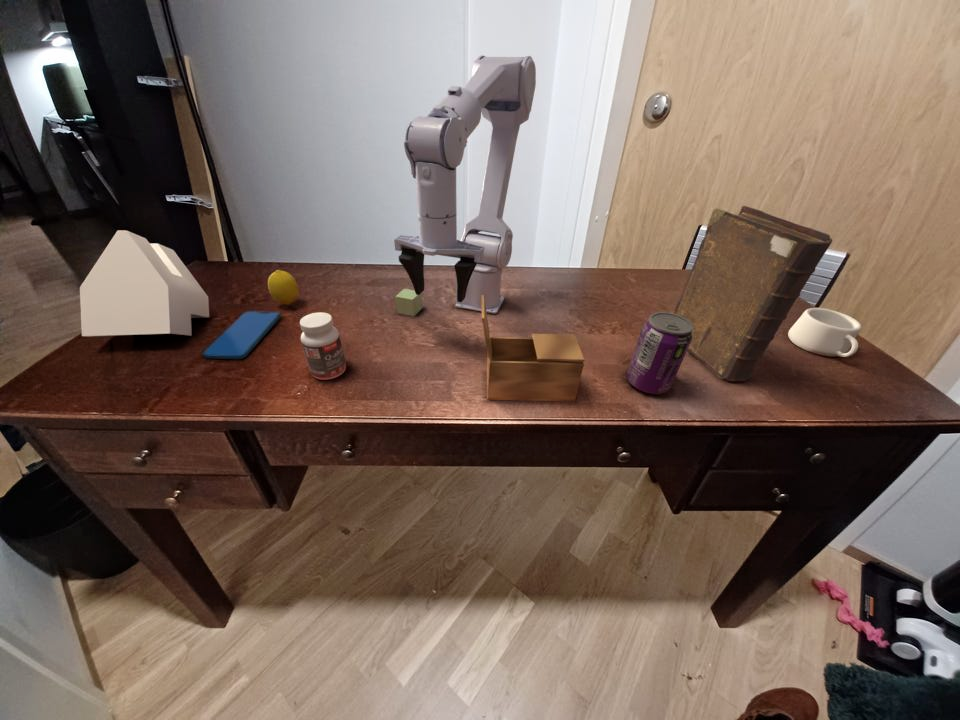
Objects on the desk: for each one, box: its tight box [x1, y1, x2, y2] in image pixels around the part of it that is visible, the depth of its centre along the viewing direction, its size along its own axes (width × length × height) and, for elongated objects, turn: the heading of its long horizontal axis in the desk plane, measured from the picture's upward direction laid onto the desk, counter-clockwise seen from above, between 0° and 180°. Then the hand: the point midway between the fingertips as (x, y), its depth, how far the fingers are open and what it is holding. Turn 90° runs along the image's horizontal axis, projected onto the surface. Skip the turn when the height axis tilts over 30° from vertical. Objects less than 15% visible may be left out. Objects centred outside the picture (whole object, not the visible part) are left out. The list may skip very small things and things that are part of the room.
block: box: [394, 288, 423, 317], centre depth 78 cm, size 4×4×4 cm
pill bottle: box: [299, 311, 347, 381], centre depth 59 cm, size 6×6×10 cm
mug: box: [787, 307, 862, 358], centre depth 71 cm, size 12×10×6 cm
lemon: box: [267, 269, 299, 306], centre depth 77 cm, size 6×6×8 cm
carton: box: [486, 333, 585, 402], centre depth 58 cm, size 14×7×8 cm, turn 90°
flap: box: [481, 295, 491, 358], centre depth 53 cm, size 7×7×1 cm
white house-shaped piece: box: [79, 229, 210, 339], centre depth 68 cm, size 14×11×18 cm
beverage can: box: [625, 311, 693, 395], centre depth 58 cm, size 7×7×12 cm
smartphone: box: [202, 310, 282, 360], centre depth 69 cm, size 7×1×15 cm
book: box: [673, 205, 833, 382], centre depth 61 cm, size 17×7×25 cm, turn 9°
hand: (440, 295), depth 63 cm, fingers open, 7 cm apart
